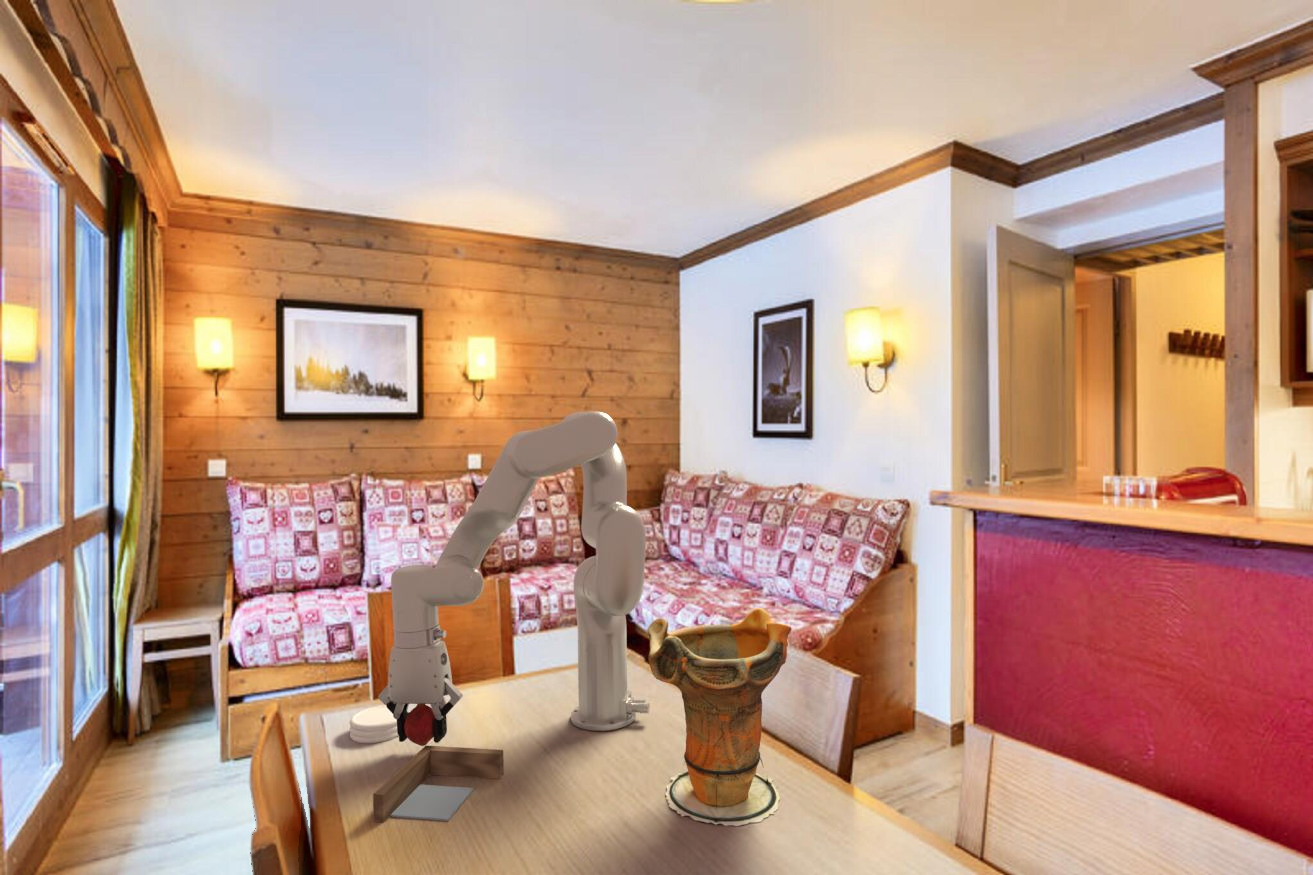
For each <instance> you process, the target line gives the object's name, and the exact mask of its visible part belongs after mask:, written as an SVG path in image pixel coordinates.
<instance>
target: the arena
mask: <svg viewBox="0 0 1313 875" xmlns="http://www.w3.org/2000/svg"><path fill="white" fill-rule="evenodd" d="M504 767H505V766H504V749H496V748H475V747H474V748H473V747H460V746H457V747H455V746H442V745H441V746H439V745H425V746H423V747H422V748H421V749H420V750H419V751H418V752H417V753H416V754H415V755H414V756H412V758H410V759H409V760H408V761H407V762H406V763H405V764H404V765H402V767H401V768H399V769H398V770H397V771H396V773H394V774H393V775H392V776H391V777H390V778H389V779H387V781H385V782H384V783H383V785H382V786H380V787H379V788H378V789H377V790H376V791H375V792H373V793H372V808H373V811H372V812H373V813H372V814H373V815H372V816H373V822H375V823H384V822H386V821H387V819H389V818H390V817H391V814H392V813H393V812H394V811H395V810H396V809H397V808H398V807H399V806H400V805H401V804H402V803H403V802H404V801H405V799H406V798H407V797H408V796H409V795H410V794H411V793H412V792H413V791H414V790H415V789H416V788H417V787H418V786H419V785H420V784H421V785H423V783H424V782H425V781H426V780H427V779H428V778H429V777H430V775H434V776H448V777H449V776H450V777H463V778H464V777H465V778H481V779H482V778H483V779H498V780H500V779H501V778H502V777H503V776H504V770H505V769H504Z"/></svg>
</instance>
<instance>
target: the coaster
mask: <svg viewBox="0 0 1313 875" xmlns="http://www.w3.org/2000/svg"><path fill="white" fill-rule="evenodd" d="M349 732H350V733H349V737H350V739H351V740H352V741H354V742H356V743H359V744H376V743H377V744H378V743H381V742H386V741H390V740H393V739H395V738H398V737H399V735H398V733H397V719H395V718H394V717H393V713H392V712H391V711H390V710H389V709H388V708H387V706H386V705H379V706H373V707H369V708H365V709H363V710H360V711H359V712H356V713H355V714H354V715H353V716H351V718H350V720H349Z"/></svg>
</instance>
